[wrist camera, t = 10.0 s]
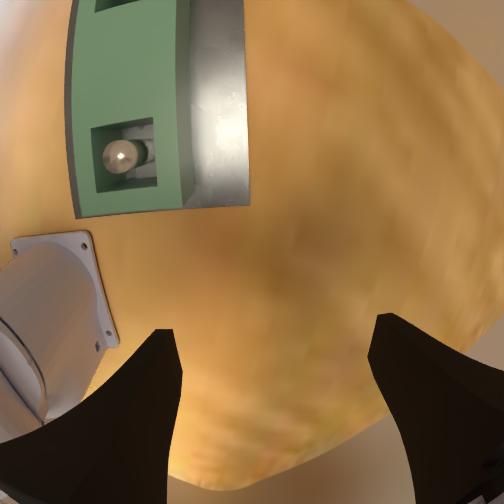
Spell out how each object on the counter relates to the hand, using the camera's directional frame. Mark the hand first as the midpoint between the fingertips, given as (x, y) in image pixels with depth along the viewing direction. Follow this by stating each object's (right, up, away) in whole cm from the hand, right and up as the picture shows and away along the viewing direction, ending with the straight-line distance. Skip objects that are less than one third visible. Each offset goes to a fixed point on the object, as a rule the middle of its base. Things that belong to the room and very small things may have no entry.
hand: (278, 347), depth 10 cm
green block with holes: (-7, +13, +3) cm, 15 cm away
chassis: (-7, +13, +4) cm, 16 cm away
